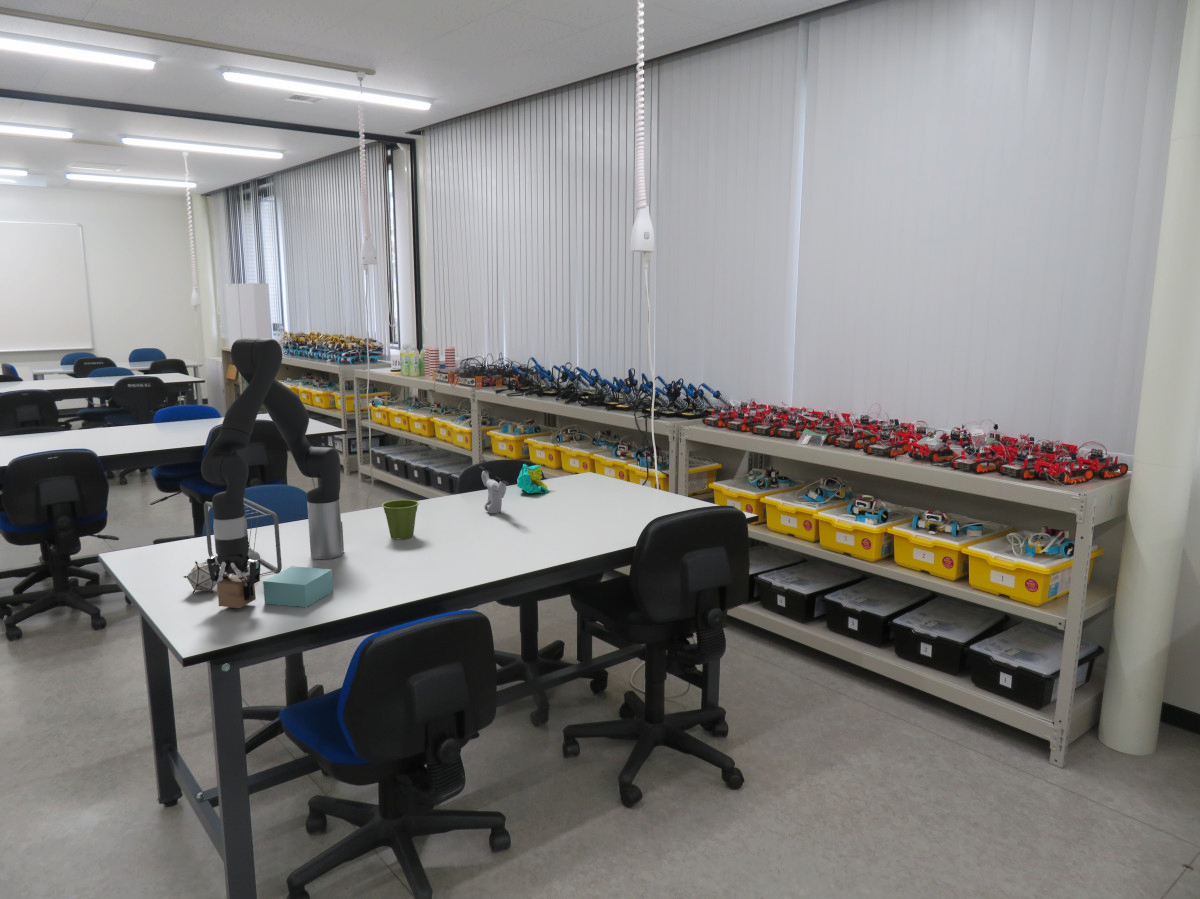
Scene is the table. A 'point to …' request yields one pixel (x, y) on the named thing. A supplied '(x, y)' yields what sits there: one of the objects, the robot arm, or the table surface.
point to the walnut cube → (232, 592)
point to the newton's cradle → (251, 553)
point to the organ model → (531, 479)
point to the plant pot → (401, 517)
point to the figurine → (493, 492)
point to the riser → (298, 586)
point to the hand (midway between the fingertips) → (237, 598)
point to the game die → (201, 578)
